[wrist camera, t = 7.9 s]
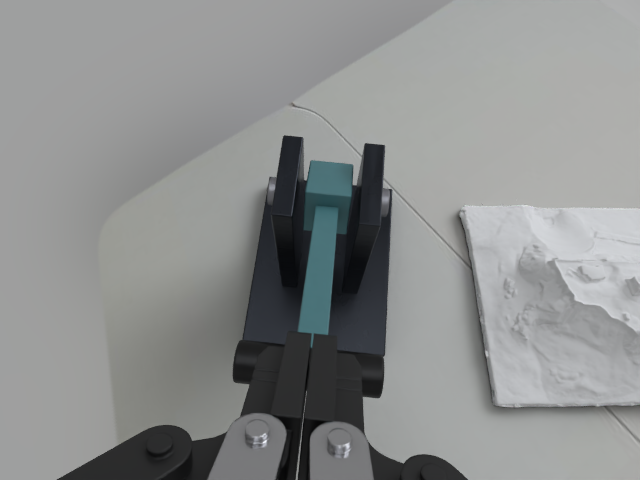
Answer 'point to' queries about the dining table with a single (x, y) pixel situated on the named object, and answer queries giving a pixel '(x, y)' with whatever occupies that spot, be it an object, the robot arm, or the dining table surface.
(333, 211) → the switch lever
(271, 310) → the switch bracket
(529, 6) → the dining table surface
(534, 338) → the terrain model
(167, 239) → the dining table surface
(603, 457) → the dining table surface
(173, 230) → the dining table surface
